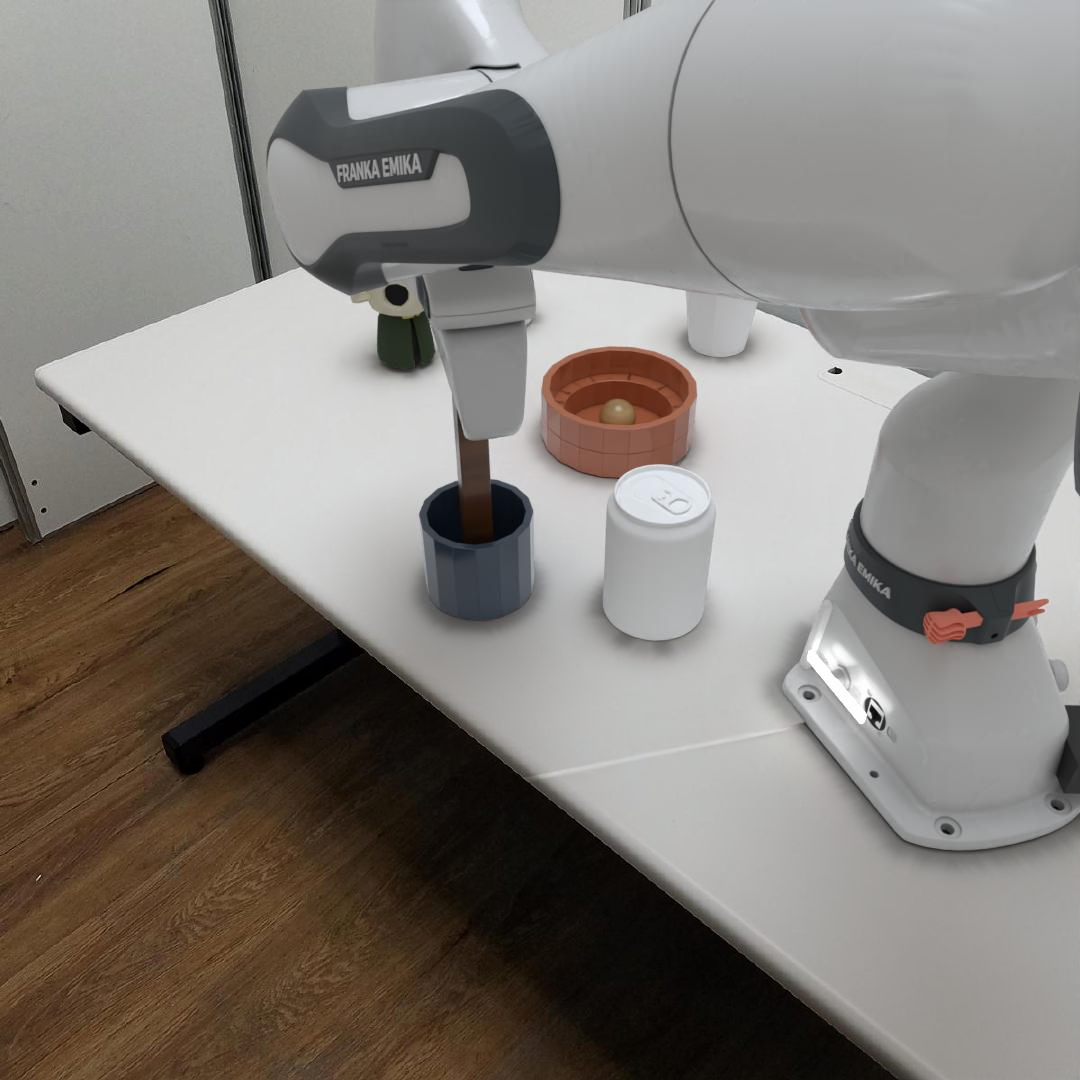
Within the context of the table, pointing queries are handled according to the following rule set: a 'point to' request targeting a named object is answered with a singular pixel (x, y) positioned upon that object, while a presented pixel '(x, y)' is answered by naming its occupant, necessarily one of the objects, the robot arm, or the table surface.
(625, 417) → the bead
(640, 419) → the bowl
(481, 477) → the stick
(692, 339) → the foam cup
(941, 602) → the robot arm
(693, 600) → the beverage can
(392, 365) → the character mug
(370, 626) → the table surface
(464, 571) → the pot
